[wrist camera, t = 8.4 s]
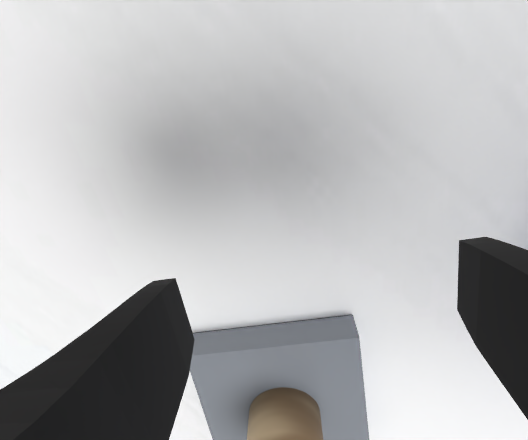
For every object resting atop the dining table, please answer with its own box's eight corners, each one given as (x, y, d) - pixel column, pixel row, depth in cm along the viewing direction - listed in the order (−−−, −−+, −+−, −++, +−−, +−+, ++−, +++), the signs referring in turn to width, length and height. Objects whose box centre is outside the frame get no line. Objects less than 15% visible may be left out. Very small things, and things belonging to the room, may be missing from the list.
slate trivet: (352, 314, 22) (359, 337, 20) (364, 430, 26) (371, 458, 24) (192, 333, 23) (185, 356, 21) (226, 441, 27) (222, 468, 25)
